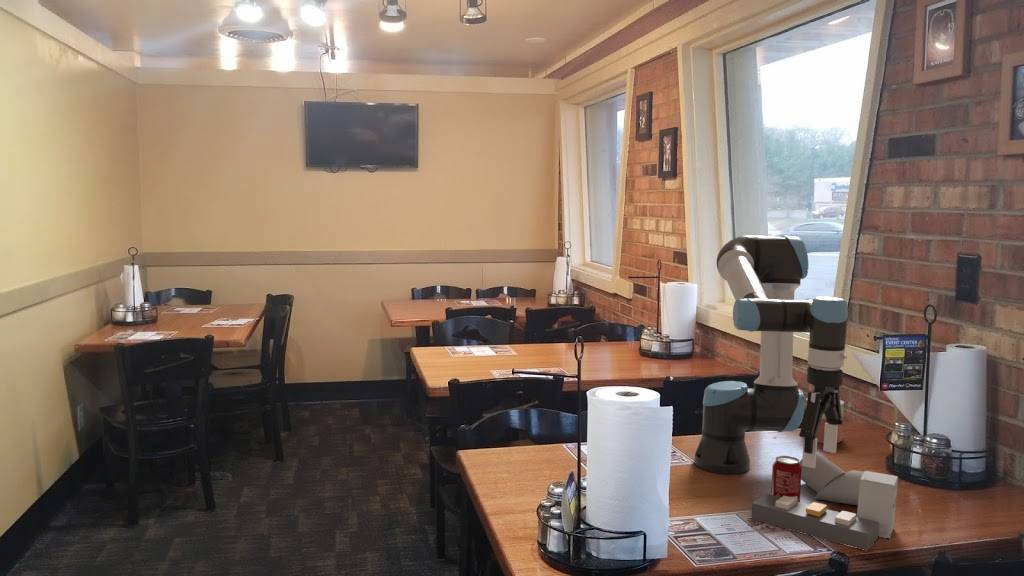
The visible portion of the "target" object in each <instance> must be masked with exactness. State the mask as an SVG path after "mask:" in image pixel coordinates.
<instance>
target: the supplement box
mask: <svg viewBox="0 0 1024 576" xmlns="http://www.w3.org/2000/svg"><path fill="white" fill-rule="evenodd" d="M863 472H864V473H863V475H862V477H861V479H860V484H859V497H858V506H857V509H856V510H857V511H856V512H857V513H856V517H859V518H863V519H867V520H871V521H875V522H879V531H878V536H879V537H878V538H881V537H883V538H882V539H886V538H889V539H888V540H890V539H891V537H892V533H893V530H894V527H895V519H896V518H895V517H896V507H897V506H896V505H897V493H898V481H899V480H898V479H899V476H897V475H893V474H886V473H881V472H875V471H870V470H864V471H863Z"/></svg>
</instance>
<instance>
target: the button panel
mask: <svg viewBox="0 0 1024 576" xmlns="http://www.w3.org/2000/svg"><path fill="white" fill-rule="evenodd" d="M809 505H810V504H808V503H804V502H801V501H800V502H797V501H796V499H795V498H792V497H788V496H783V497H778V496H774V495H771V493H764V494H762V495H761V496H759V498H757V499H756V500H753V502H751V518H750V519H751V520H752V519H753V521H756V520H757V522H759V521H760V523H763V522H764V523H763V524H767V523H768V524H767V525H770V524H771V526H774V525H775V526H774V527H777V526H779V527H778V528H781V527H783V528H782V529H784V528H787V529H786V530H788V529H791V530H790V531H792V530H795V531H798V532H797V533H799V532H802V533H806V534H809V535H812V536H811V537H813V536H815V537H814V538H816V537H818V538H817V539H820V538H822V539H821V540H824V539H826V540H825V541H827V540H829V541H828V542H831V541H833V542H832V543H834V542H837V543H836V544H838V543H842V544H846V545H850V546H853V547H857V548H860V549H864V550H868V549H869V548H870V547H871V546H872V545H873V544H874V545H875V543H876V542H877V541H878V540H879V537H878V531H879V522H875V521H871V520H867V519H863V518H859V517H857V513H854V512H850V511H845V510H841V511H840V512H839V511H835V510H831V509H828V508H827V510H826V511H825V512H824V513H823V514H822V515H820V516H819V517H818V516H814V515H810V514H807V513H806V508H807V507H808V506H809ZM795 531H794V532H795ZM802 533H801V534H802ZM806 534H805V535H806ZM809 535H808V536H809ZM877 539H878V540H877ZM876 540H877V541H876ZM875 541H876V542H875ZM874 542H875V543H874ZM874 545H873V546H874ZM873 546H872V547H873ZM872 547H871V548H872ZM871 548H870V549H871ZM870 549H869V550H870ZM869 550H868V551H869Z"/></svg>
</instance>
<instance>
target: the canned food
mask: <svg viewBox="0 0 1024 576" xmlns="http://www.w3.org/2000/svg"><path fill="white" fill-rule="evenodd" d="M807 398H808V396H807V397H805V409H806V405H807ZM840 404H841V414H842V419H841V420H842V423H843V421H844V406H845V402H844V400H842V399H840ZM805 409H804V410H805ZM837 414H838V413H837ZM825 423H829V422H827V420H826V417H825V413H823V415H822V419H821V422H820V425H819V428H818V431H817V435H816V438H817V443H820V444H821V443H822V444H824V431H825ZM837 425H838V432H837V444H838V443H840V441H841V442H842V441H843V440H842V439H843V438H842V437H843V436H842V435H843V434H842V433H843V424H842V425H839V424H837Z"/></svg>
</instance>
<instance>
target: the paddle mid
mask: <svg viewBox="0 0 1024 576" xmlns="http://www.w3.org/2000/svg"><path fill="white" fill-rule="evenodd" d="M827 509H828V506H827V504H824V503H820V502H816V501H813V502H812V503H810V504H809V506H808V507H807V508H806V513H807V514H810V515H814V516H818V517H819V516H820V515H822V514H823V513H824V512H825V511H826V510H827Z"/></svg>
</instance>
